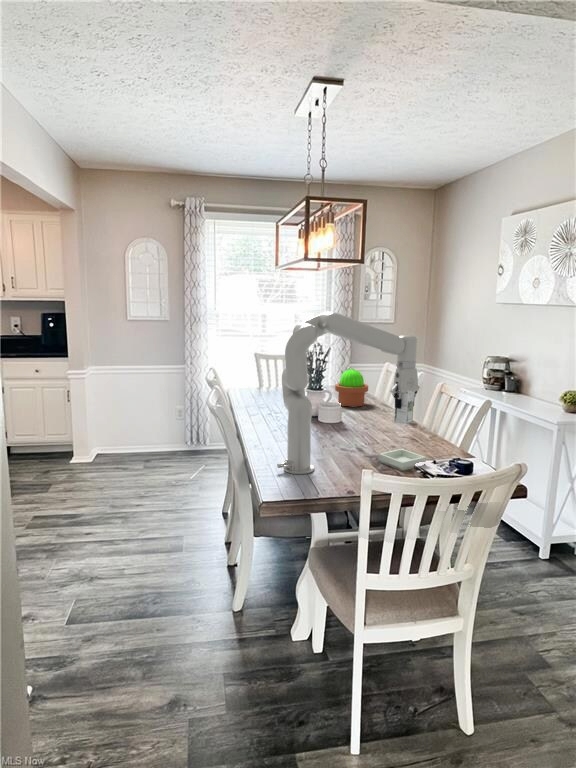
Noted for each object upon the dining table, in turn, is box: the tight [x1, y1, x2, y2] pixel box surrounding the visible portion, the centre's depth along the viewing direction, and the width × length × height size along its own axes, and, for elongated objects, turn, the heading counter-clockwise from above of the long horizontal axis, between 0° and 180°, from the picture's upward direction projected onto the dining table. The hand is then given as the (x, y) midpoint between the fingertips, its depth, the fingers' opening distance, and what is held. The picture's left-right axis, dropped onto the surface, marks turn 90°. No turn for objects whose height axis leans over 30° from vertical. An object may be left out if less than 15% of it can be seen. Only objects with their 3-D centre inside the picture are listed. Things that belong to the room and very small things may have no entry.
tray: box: [378, 448, 427, 472], centre depth 205 cm, size 14×14×4 cm
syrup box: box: [394, 390, 415, 425], centre depth 201 cm, size 6×6×14 cm
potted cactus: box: [334, 368, 369, 407], centre depth 321 cm, size 22×22×25 cm
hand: (404, 406), depth 201 cm, fingers closed on syrup box, 7 cm apart
